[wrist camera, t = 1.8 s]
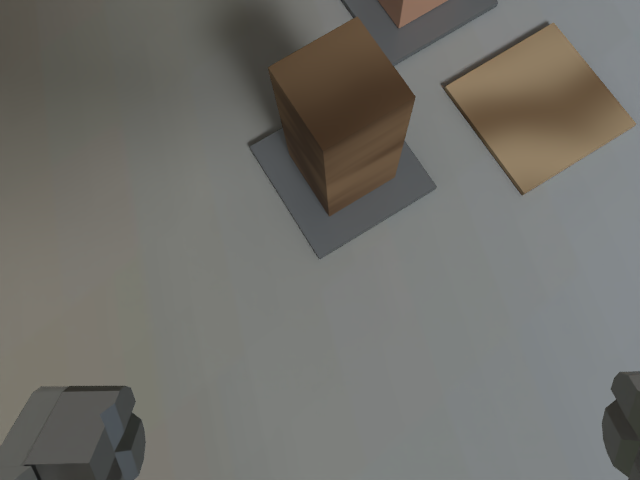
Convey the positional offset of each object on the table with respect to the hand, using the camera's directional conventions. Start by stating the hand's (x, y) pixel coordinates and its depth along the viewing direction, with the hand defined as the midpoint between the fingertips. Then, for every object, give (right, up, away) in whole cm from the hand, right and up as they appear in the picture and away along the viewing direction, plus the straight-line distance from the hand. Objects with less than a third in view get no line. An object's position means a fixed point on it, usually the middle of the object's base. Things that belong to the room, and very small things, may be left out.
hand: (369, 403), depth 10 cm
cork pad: (+12, +11, +25) cm, 30 cm away
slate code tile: (0, +7, +25) cm, 26 cm away
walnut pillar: (0, +7, +24) cm, 25 cm away
